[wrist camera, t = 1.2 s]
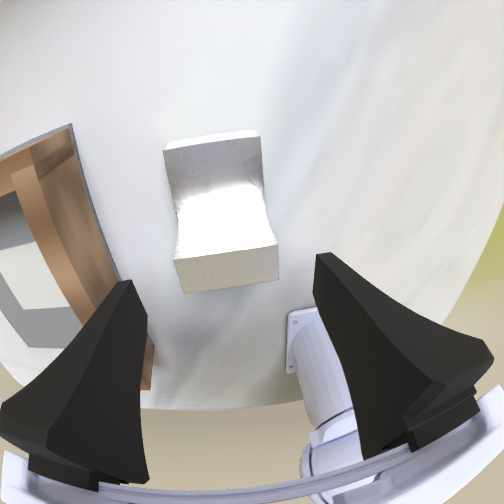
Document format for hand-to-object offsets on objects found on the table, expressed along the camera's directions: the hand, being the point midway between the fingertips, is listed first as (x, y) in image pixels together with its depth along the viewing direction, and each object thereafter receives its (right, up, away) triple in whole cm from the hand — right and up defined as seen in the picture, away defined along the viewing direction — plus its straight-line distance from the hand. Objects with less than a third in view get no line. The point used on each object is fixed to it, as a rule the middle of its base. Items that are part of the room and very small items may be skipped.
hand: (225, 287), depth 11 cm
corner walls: (-15, 0, +5) cm, 16 cm away
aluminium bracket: (-1, +5, +5) cm, 7 cm away
